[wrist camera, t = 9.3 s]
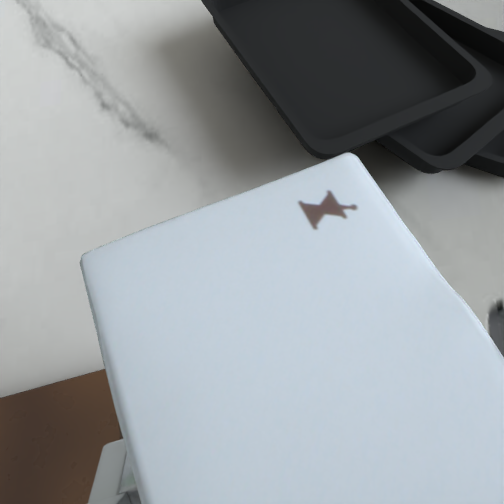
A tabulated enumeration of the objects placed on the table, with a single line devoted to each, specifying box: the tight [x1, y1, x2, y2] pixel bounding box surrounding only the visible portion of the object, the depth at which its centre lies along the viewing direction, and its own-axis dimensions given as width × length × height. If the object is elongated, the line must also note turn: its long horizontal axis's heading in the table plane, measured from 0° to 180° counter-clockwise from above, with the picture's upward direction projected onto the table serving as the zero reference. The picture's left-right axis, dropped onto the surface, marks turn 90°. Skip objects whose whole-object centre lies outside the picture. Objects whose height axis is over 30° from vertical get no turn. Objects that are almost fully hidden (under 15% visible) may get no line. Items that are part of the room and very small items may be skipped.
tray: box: [201, 0, 504, 177], centre depth 36 cm, size 30×23×5 cm
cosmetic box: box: [80, 153, 504, 504], centre depth 10 cm, size 6×4×12 cm
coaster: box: [0, 369, 123, 504], centre depth 25 cm, size 12×10×1 cm
